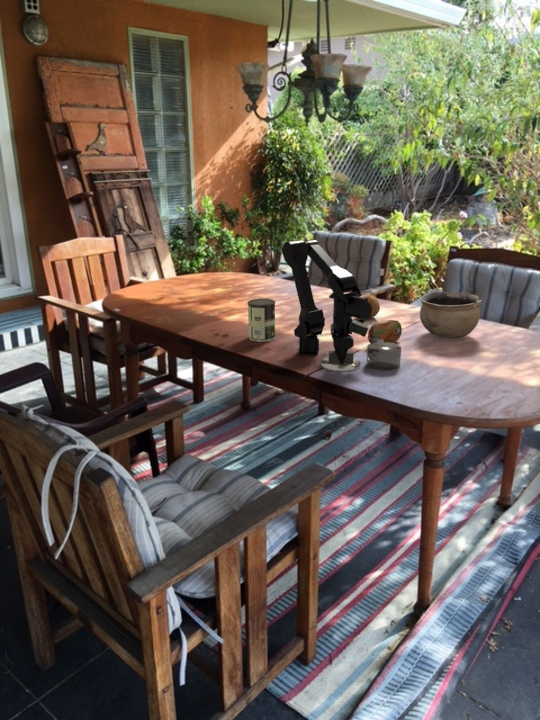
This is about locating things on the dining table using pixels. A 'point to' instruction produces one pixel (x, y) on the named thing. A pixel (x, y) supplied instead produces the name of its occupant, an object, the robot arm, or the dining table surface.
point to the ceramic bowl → (450, 314)
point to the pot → (383, 355)
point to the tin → (385, 331)
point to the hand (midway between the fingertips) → (340, 359)
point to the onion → (373, 304)
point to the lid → (335, 365)
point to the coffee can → (261, 320)
